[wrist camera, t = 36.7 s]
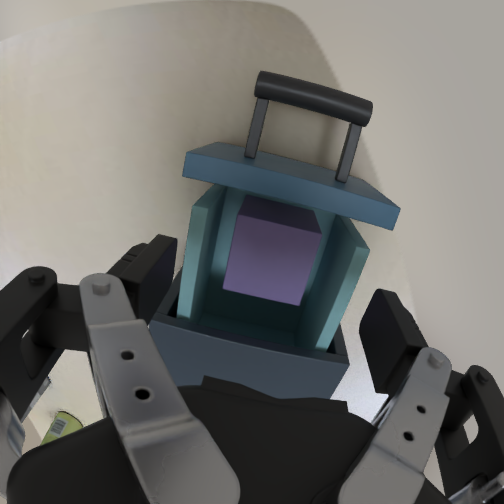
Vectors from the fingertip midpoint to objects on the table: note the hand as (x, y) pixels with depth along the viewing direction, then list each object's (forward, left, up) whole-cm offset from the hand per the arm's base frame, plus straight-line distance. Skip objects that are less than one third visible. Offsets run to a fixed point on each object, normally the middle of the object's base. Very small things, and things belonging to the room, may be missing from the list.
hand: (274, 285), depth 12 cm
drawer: (+1, 0, -11) cm, 11 cm away
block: (+2, 0, -10) cm, 10 cm away
